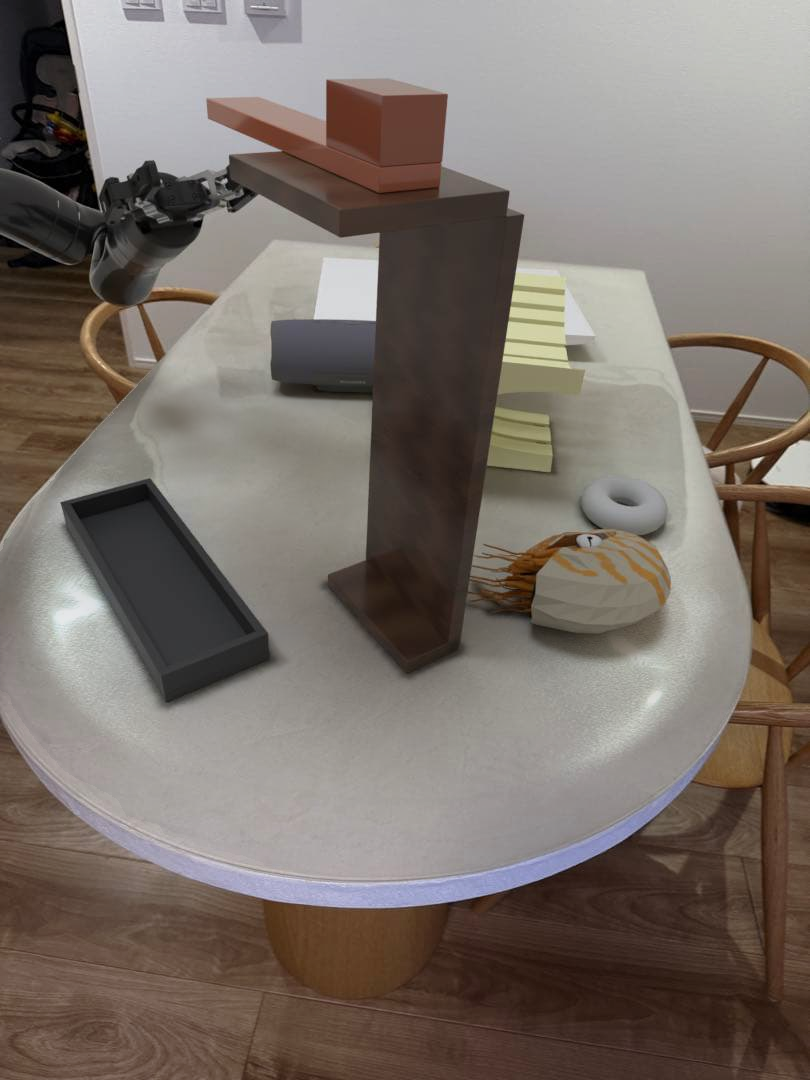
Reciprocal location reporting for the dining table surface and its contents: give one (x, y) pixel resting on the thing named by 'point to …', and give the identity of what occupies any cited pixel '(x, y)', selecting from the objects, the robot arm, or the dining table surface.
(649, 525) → the donut
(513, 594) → the nautilus
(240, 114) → the reddish-brown long block
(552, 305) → the slatted curved stool
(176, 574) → the shallow dark tray
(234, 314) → the dining table surface
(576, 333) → the board
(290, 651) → the dining table surface
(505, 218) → the dark brown wooden stand
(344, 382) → the bluetooth speaker
